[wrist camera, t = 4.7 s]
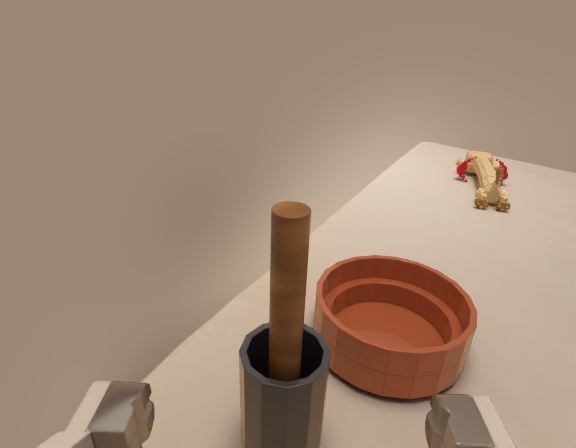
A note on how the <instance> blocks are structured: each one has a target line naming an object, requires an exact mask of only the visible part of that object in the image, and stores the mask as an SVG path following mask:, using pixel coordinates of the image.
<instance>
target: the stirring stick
mask: <svg viewBox="0 0 576 448" xmlns="http://www.w3.org/2000/svg"><path fill="white" fill-rule="evenodd" d="M271 214H272V215H271V266H270V319H269V373H268V378H270V379H275V380H280V381H285V382H289V381H294V380H298V379H300V368H301V354H302V339H303V324H304V310H305V295H306V280H307V265H308V251H309V236H310V220H311V209H310V207H309V206H307V205H305V204H303V203H300V202H292V201H290V202H289V201H287V202H280V203H277V204H276V205H274V206H273V207H272V213H271Z"/></svg>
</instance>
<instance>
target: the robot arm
mask: <svg viewBox="0 0 576 448" xmlns="http://www.w3.org/2000/svg"><path fill="white" fill-rule="evenodd" d="M150 394H151V388H150V384H148V383H135V382H120V381H100V380H96V381H95V382H94V383H93V384H92V385H91V386H90V388H89V389H88V391H87V393H86V394H85V396H84V398H83V400H82V401H81V403H80V405H79V407H78V409H77V410H76V412H75V414H74V415H73V417H72V419H71V421H70V422H69V424H68V426H67V427H66V429H65V431H59V432H57V433H56V434H55V435H53V436H52V437H50V438H49V439H48V440H46V441H45V442H43V444H41V445H39V446H38V447H37V448H142V443H144V442H145V441H146V440H147V439H148V438H149V436H150V433H151V430H152V426H153V421H154V404H153V402H152V401H151V400H150V399H149V397H150ZM430 404H431V407H432V410H431V411H430V412H428V413H427V416H426V421H425V433H426V438H427V442H428V446H429V448H516V446H515V444H514V442H513V440H512V438H511V436H510V434H509V432H508V430H507V428H506V426H505V425H504V423H503V421H502V419H501V417H500V415H499V413H498V411H497V409H496V407H495V405H494V404H493V402H492V400H491V398H490V397H489V396H484V395H463V394H434V395H433V396H432V397H431V401H430Z"/></svg>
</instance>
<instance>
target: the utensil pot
mask: <svg viewBox="0 0 576 448" xmlns="http://www.w3.org/2000/svg"><path fill="white" fill-rule="evenodd" d="M330 355H331V350H330V348H329V346H328V345H327V343H326V341H325V339H324V337H323V336H322V334H320V333H319V332H317V331H315V330H314V329H312V328H310V327H309V326H307V325H306V324H303V339H302V354H301V368H300V379H298V380H294V381H289V382H285V381H280V380H275V379H270V378H268V373H269V323H266V324H262V325H261V326H259V327H258V328H256V329H255V330H253V331H252V332H250V333H249V334H247V335H246V337H245V339H244V341H243V344H242V346H241V348H240V350H239V370H240V408H241V443H242V448H320V444H321V436H322V427H323V418H324V409H325V400H326V391H327V382H328V373H329V364H330Z"/></svg>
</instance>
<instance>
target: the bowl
mask: <svg viewBox="0 0 576 448" xmlns="http://www.w3.org/2000/svg"><path fill="white" fill-rule="evenodd" d="M476 327H477V310H476V308H475V306H474V304H473V302H472V300H471V298H470V296H469V295H468V294H467V293H466V292H465V291H464V290H463V289H462V288H461V287H460V286H459V285H458V284H457V283H456V282H455V281H453V280H452V279H450V278H449V277H447V276H446V275H444V274H442V273H441V272H439V271H438V270H435V269H433V268H430V267H428V266H425V265H423V264H421V263H418V262H414V261H410V260H406V259H402V258H398V257H390V256H378V255H372V256H360V257H353V258H350V259H346V260H343V261H340V262H337V263H336V264H334V265H333V266H331V267H330V268H328V269H327V270H325V271H324V273H323V274H322V276H321V277H320V279H319V280H318V282H317V291H316V303H315V315H314V328H313V329H314V330H315V331H317V332H319V333H320V334H322V336H323V337H324V339H325V341H326V343H327V345H328V346H329V348H330V350H331V355H330V364H329V367H330V368H331V370H332V371H333V372H334V373H336V374H337V375H339V376H340V377H342V378H343V379H345V380H346V381H348V382H349V383H351V384H352V385H354V386H355V387H358V388H360V389H363V390H366V391H368V392H371V393H374V394H377V395H379V396H386V397H394V398H403V399H414V398H421V397H427V396H433V395H434V394H437V393H439V392H441V391H443V390H444V389H446V388H448V387H450V386H452V385H453V384H454V382H455V381H456V379H457V378H458V376H459V375H460V373H461V372H462V371H463V368H464V365H465V361H466V358H467V355H468V352H469V349H470V346H471V343H472V339H473V336H474V333H475V330H476Z"/></svg>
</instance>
